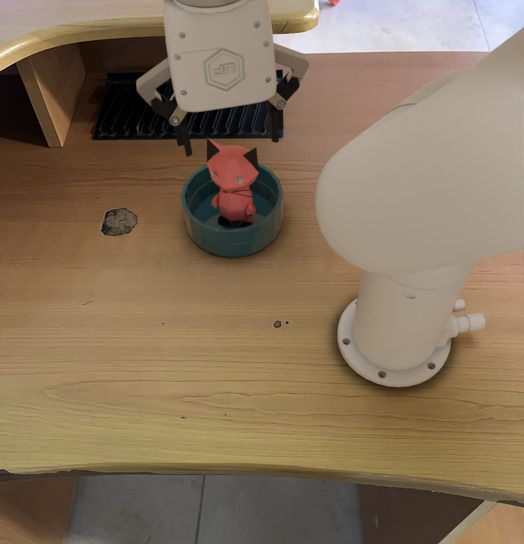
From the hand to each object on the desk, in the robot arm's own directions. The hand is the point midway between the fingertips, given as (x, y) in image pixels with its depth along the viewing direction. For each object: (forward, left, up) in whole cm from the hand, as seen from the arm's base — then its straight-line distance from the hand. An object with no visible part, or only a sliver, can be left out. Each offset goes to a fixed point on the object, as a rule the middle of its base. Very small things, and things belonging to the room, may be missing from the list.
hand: (230, 141), depth 63 cm
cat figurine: (0, -1, -13) cm, 13 cm away
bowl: (0, -1, -13) cm, 13 cm away
